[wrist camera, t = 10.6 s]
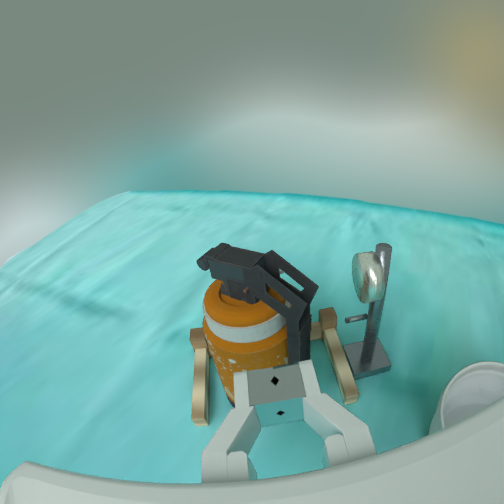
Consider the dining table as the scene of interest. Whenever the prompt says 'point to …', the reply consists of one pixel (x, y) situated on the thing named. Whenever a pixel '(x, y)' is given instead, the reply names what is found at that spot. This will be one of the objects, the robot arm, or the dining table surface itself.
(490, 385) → the ramekin
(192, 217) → the dining table surface
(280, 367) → the robot arm
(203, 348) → the cradle
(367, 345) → the mirror on stand
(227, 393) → the canister
